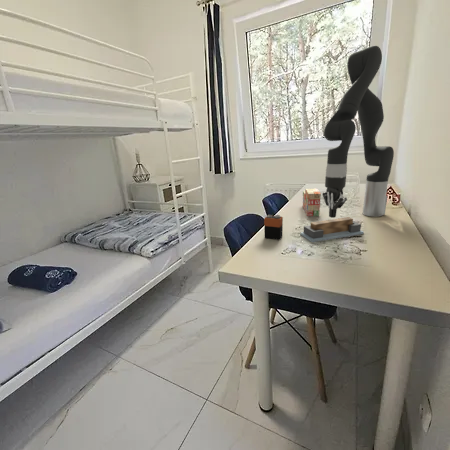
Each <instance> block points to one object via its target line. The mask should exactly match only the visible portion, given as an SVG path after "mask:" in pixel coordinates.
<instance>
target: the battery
mask: <svg viewBox="0 0 450 450" xmlns="http://www.w3.org/2000/svg"><path fill="white" fill-rule="evenodd" d="M283 218H284V217H283V216H281V215H279V214H275V215H272V214H267V215H266V216H265V218H264V219H263V220H264V221H263V222H264V223H263V224H264V226H263V228H264V229H263V230H264V239H268V240H269V239H270V240H276V241H280V240H281V239H282V238H283V229H284V228H283V225H284V224H283V221H284V220H283Z"/></svg>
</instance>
